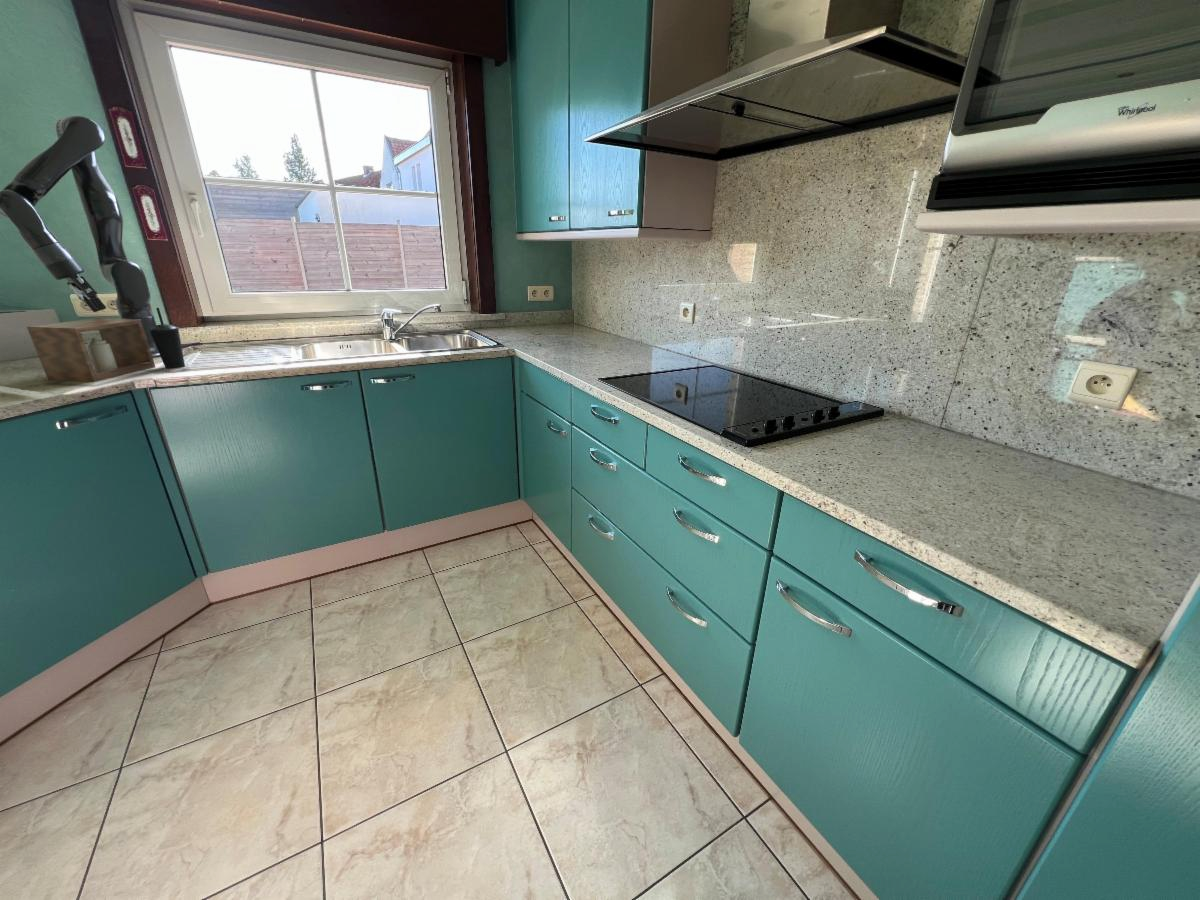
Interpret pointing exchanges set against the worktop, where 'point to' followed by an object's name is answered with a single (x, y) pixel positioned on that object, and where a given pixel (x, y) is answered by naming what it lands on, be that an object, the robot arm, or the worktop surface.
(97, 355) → the bottle
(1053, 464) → the worktop surface
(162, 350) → the drinking cup
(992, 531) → the worktop surface
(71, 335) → the cabinet
